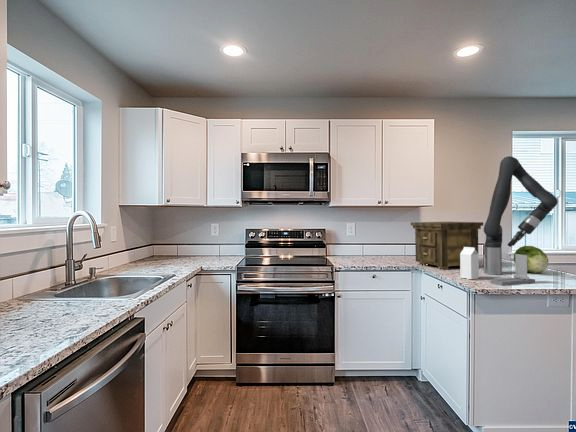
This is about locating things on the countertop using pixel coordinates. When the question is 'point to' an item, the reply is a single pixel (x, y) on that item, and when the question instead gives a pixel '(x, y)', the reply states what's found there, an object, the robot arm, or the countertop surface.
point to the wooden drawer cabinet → (444, 241)
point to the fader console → (511, 281)
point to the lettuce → (533, 258)
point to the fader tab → (521, 266)
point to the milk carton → (469, 263)
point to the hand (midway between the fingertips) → (510, 245)
